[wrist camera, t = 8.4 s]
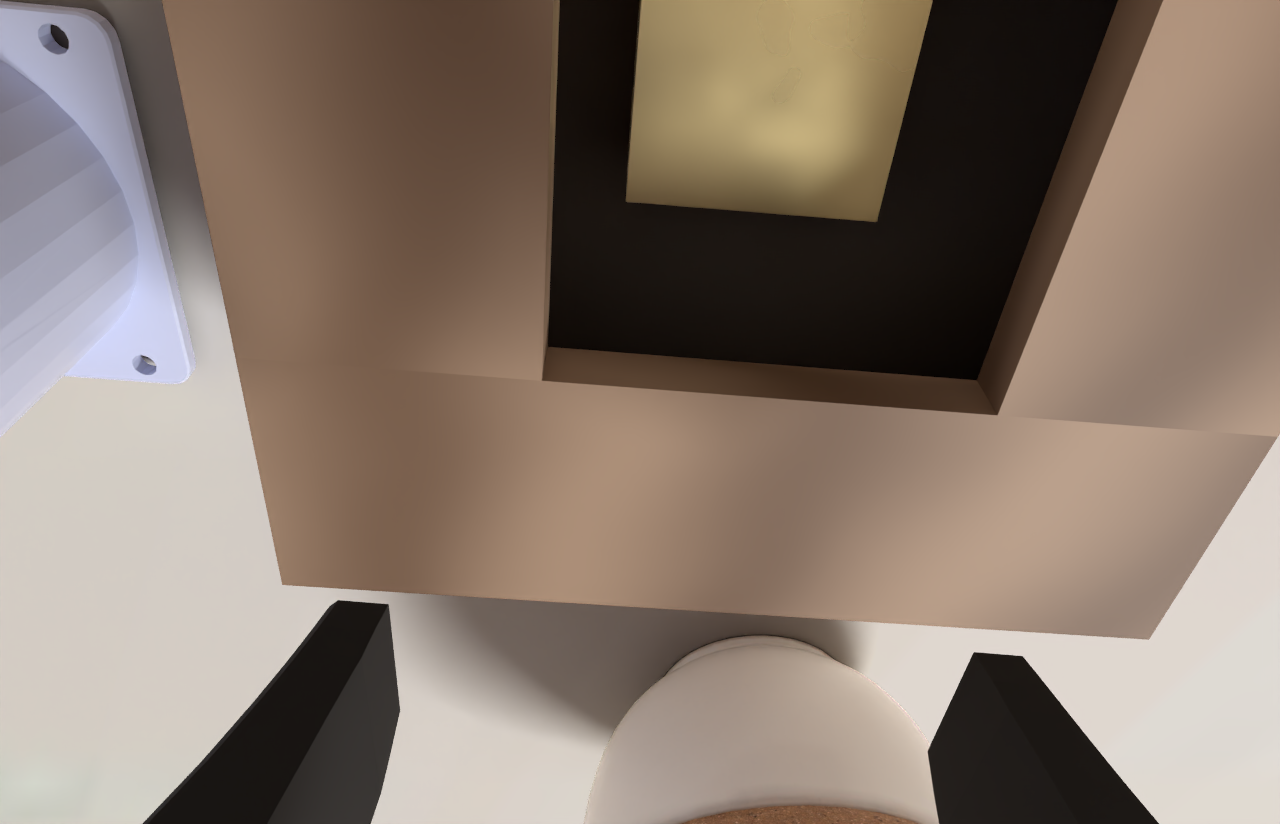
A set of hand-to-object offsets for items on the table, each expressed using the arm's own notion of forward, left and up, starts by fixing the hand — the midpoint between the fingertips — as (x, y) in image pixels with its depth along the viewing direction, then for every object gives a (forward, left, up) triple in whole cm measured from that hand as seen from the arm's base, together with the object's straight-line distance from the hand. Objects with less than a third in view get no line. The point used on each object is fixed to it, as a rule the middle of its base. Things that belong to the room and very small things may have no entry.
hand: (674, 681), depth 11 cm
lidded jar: (+4, -14, -11) cm, 18 cm away
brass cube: (+1, +6, -11) cm, 12 cm away
